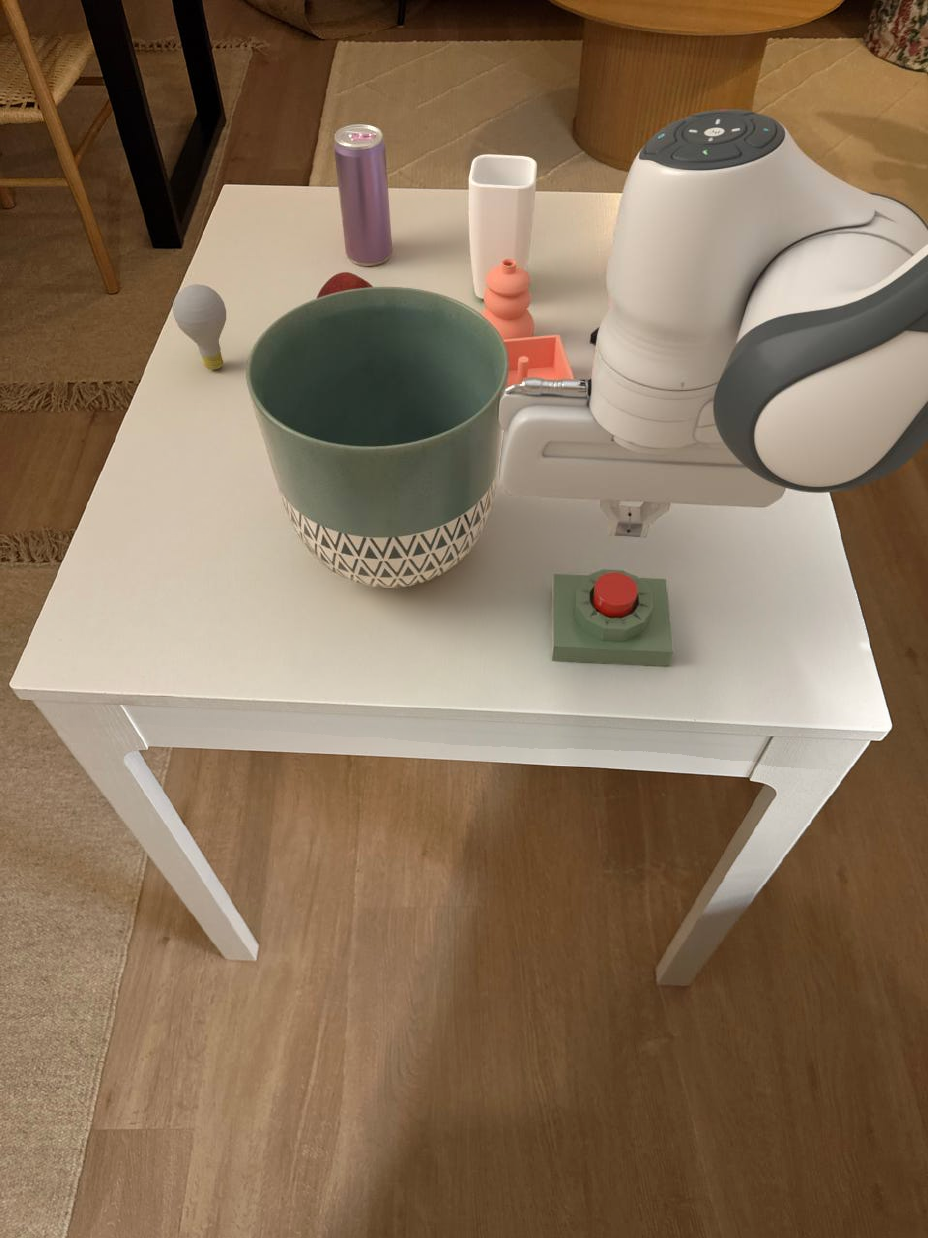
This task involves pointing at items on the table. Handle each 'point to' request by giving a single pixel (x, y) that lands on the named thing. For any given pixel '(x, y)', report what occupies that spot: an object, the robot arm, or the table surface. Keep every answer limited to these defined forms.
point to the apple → (343, 284)
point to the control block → (610, 623)
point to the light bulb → (202, 320)
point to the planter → (382, 428)
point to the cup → (500, 213)
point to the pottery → (521, 327)
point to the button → (615, 594)
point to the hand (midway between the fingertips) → (626, 530)
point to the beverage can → (363, 193)
